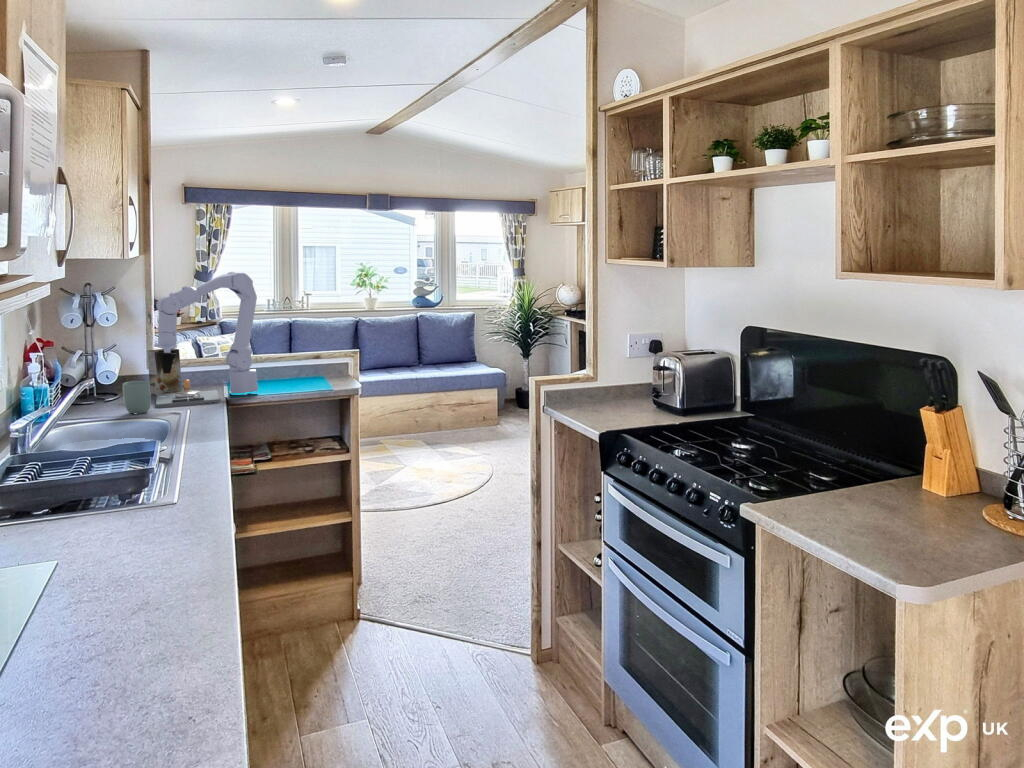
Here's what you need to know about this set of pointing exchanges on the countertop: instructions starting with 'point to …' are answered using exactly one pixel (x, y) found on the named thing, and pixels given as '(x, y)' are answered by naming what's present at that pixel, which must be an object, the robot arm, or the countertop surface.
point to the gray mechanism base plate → (186, 399)
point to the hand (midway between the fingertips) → (166, 371)
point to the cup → (137, 396)
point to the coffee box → (164, 374)
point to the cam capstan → (187, 391)
